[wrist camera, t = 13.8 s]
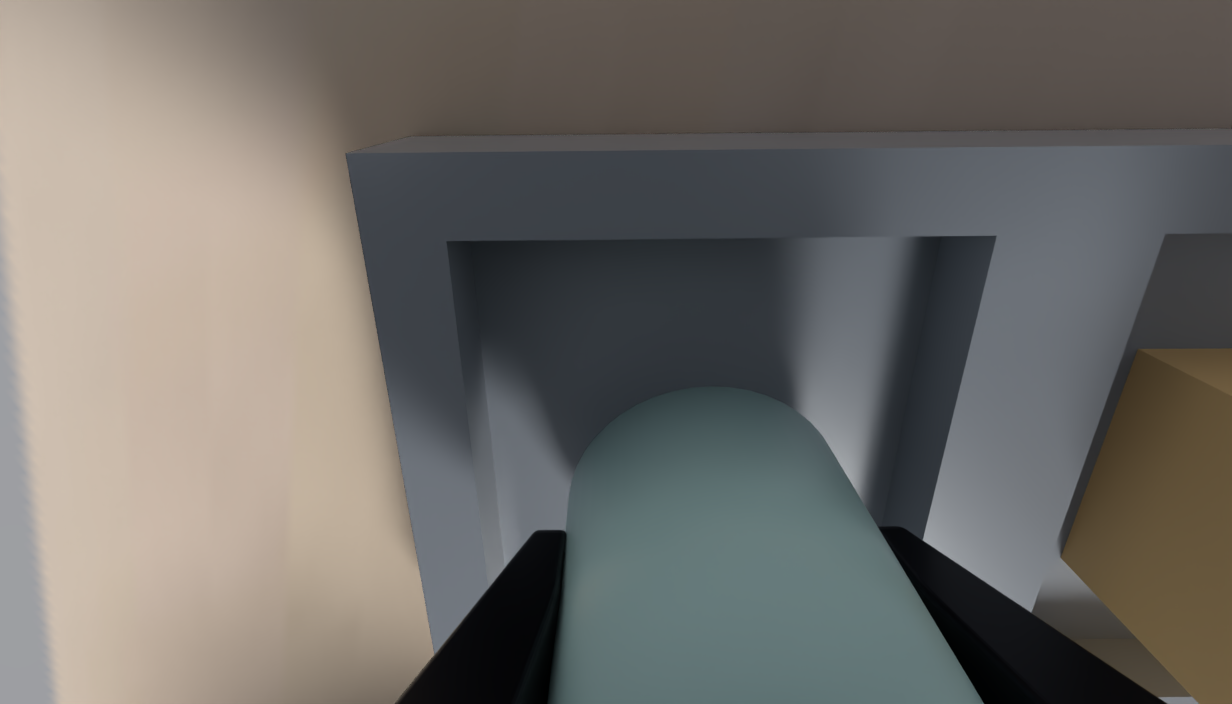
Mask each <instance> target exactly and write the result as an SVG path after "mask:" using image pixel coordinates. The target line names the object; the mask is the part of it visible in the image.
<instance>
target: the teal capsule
mask: <svg viewBox="0 0 1232 704" xmlns="http://www.w3.org/2000/svg"><path fill="white" fill-rule="evenodd" d="M565 532H566V542H565V552H564V562H563V572H562V582H561V592H560V602H559V611H558V619H557V627H556V634H555V642H554V649H553V656H552V663H551V672H550V682H549V692H548V701H547V704H984V703H983V701H982V700H981V698H980V696H979V695H978V693H977V691H976V690H975V688H974V686H973V685H972V683H971V681H970V680H969V678H968V676H967V675H966V673H965V671H964V670H963V668H962V666H961V665H960V663H959V661H958V660H957V658H956V656H955V655H954V653H953V651H952V650H951V648H950V646H949V645H948V643H947V641H946V640H945V638H944V636H943V635H942V633H941V631H940V630H939V628H938V626H937V625H936V623H935V621H934V620H933V618H932V616H931V615H930V613H929V611H928V610H927V608H926V606H925V605H924V603H923V601H922V600H921V598H920V596H919V595H918V593H917V591H916V590H915V588H914V586H913V585H912V583H911V581H910V580H909V578H908V577H907V575H906V573H905V572H904V570H903V568H902V567H901V565H900V563H899V562H898V560H897V558H896V557H895V555H894V553H893V552H892V550H891V548H890V547H889V545H888V543H887V542H886V540H885V538H884V537H883V535H882V533H881V532H880V530H879V528H878V527H877V525H876V523H875V522H874V520H873V518H872V517H871V515H870V513H869V512H868V510H867V508H866V507H865V505H864V503H863V502H862V500H861V498H860V497H859V495H858V493H857V492H856V490H855V488H854V487H853V485H852V483H851V482H850V480H849V478H848V477H847V475H846V473H845V472H844V470H843V468H842V467H841V465H840V463H839V462H838V460H837V458H836V457H835V455H834V453H833V452H832V450H831V448H830V447H829V445H828V444H827V442H826V441H825V439H824V437H823V436H822V434H821V433H820V432H819V431H818V430H817V429H816V428H815V427H814V425H813V424H812V423H811V422H810V421H808V420H807V419H806V418H805V417H804V416H802V415H801V414H800V413H799V412H797V411H796V410H794V409H793V408H791V407H789V406H788V405H786V404H784V403H783V402H780V401H778V400H776V399H774V398H771V397H769V396H767V395H763V394H760V393H757V392H753V391H750V390H744V389H738V388H732V387H716V386H708V387H694V388H687V389H682V390H677V391H672V392H669V393H665V394H662V395H659V396H656V397H653V398H651V399H649V400H646V401H644V402H642V403H640V404H637V405H635V406H634V407H632V408H631V409H629V410H627V411H626V412H624V413H622V414H621V415H619V416H618V417H617V418H615V419H614V420H613V421H612V422H610V423H609V424H608V425H607V426H606V427H605V428H604V429H603V430H602V431H601V432H600V433H599V434H598V435H597V436H596V437H595V438H594V439H593V441H592V442H591V443H590V445H589V446H588V447H587V449H586V450H585V451H584V453H583V455H582V457H581V459H580V461H579V463H578V464H577V467H576V469H575V472H574V475H573V478H572V481H571V486H570V492H569V499H568V508H567V518H566V528H565Z"/></svg>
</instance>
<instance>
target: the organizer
mask: <svg viewBox="0 0 1232 704" xmlns="http://www.w3.org/2000/svg"><path fill="white" fill-rule="evenodd" d="M346 159H347V164H348V170H349V176H350V181H351V187H352V193H353V198H354V204H355V210H356V215H357V221H358V226H359V232H360V238H361V243H362V249H363V255H364V260H365V266H366V271H367V277H368V283H369V288H370V294H371V300H372V305H373V311H374V317H375V322H376V328H377V333H378V339H379V345H380V350H381V356H382V362H383V367H384V373H385V379H386V384H387V390H388V395H389V401H390V407H391V412H392V418H393V424H394V429H395V435H396V440H397V446H398V452H399V457H400V463H401V469H402V474H403V480H404V486H405V491H406V497H407V502H408V508H409V514H410V519H411V525H412V531H413V536H414V542H415V548H416V553H417V559H418V564H419V570H420V576H421V581H422V587H423V593H424V598H425V604H426V609H427V615H428V621H429V626H430V632H431V638H432V643H433V649H434V655H435V653H436V652H437V651H438V650H439V648H440V647H441V646H442V645H443V643H444V642H445V641H446V640H447V639H448V637H449V636H450V635H451V634H452V632H453V631H454V630H455V629H456V627H457V626H458V625H459V624H460V622H461V621H462V620H463V619H464V617H465V616H466V615H467V614H468V613H469V611H470V610H471V609H472V608H473V606H474V605H475V604H476V603H477V601H478V600H479V599H480V598H481V596H482V595H483V594H484V593H485V592H486V590H487V589H488V588H489V587H490V585H491V584H492V583H493V582H494V580H495V579H496V578H497V577H498V575H499V574H500V573H501V572H502V571H503V569H504V568H505V567H506V566H507V564H508V563H509V562H510V561H511V559H512V558H513V557H514V556H515V554H516V553H517V552H518V551H519V549H520V548H521V547H522V546H523V545H524V543H525V542H526V541H527V540H528V538H529V537H530V536H531V535H532V533H533V532H535V531H537V530H564V531H565V528H566V518H567V508H568V499H569V492H570V486H571V481H572V478H573V475H574V472H575V469H576V467H577V464H578V463H579V461H580V459H581V457H582V455H583V453H584V451H585V450H586V449H587V447H588V446H589V445H590V443H591V442H592V441H593V439H594V438H595V437H596V436H597V435H598V434H599V433H600V432H601V431H602V430H603V429H604V428H605V427H606V426H607V425H608V424H609V423H610V422H612V421H613V420H614V419H615V418H617V417H618V416H619V415H621V414H622V413H624V412H626V411H627V410H629V409H631V408H632V407H634V406H635V405H637V404H640V403H642V402H644V401H646V400H649V399H651V398H653V397H656V396H659V395H662V394H665V393H669V392H672V391H677V390H682V389H687V388H694V387H708V386H716V387H732V388H738V389H744V390H750V391H753V392H757V393H760V394H763V395H767V396H769V397H771V398H774V399H776V400H778V401H780V402H783V403H784V404H786V405H788V406H789V407H791V408H793V409H794V410H796V411H797V412H799V413H800V414H801V415H802V416H804V417H805V418H806V419H807V420H808V421H810V422H811V423H812V424H813V425H814V427H815V428H816V429H817V430H818V431H819V432H820V433H821V434H822V436H823V437H824V439H825V441H826V442H827V444H828V445H829V447H830V448H831V450H832V452H833V453H834V455H835V457H836V458H837V460H838V462H839V463H840V465H841V467H842V468H843V470H844V472H845V473H846V475H847V477H848V478H849V480H850V482H851V483H852V485H853V487H854V488H855V490H856V492H857V493H858V495H859V497H860V498H861V500H862V502H863V503H864V505H865V507H866V508H867V510H868V512H869V513H870V515H871V517H872V518H873V520H874V522H875V523H876V525H877V526H900V527H903V528H905V529H907V530H908V531H910V532H911V533H913V534H914V535H916V536H917V537H919V538H920V539H922V540H923V541H925V542H926V543H928V544H929V545H931V546H932V547H934V548H935V549H937V550H938V551H940V552H941V553H943V554H944V555H946V556H947V557H949V558H950V559H952V560H953V561H955V562H956V563H958V564H959V565H961V566H962V567H964V568H965V569H967V570H968V571H970V572H971V573H973V574H974V575H976V576H977V577H979V578H980V579H982V580H983V581H985V582H986V583H988V584H989V585H991V586H992V587H994V588H995V589H997V590H998V591H1000V592H1001V593H1003V594H1004V595H1006V596H1007V597H1009V598H1010V599H1012V600H1013V601H1015V602H1016V603H1018V604H1019V605H1021V606H1022V607H1024V608H1025V609H1027V610H1028V611H1030V612H1031V613H1032V614H1034V615H1035V616H1037V617H1038V618H1040V619H1041V620H1043V621H1044V622H1046V623H1047V624H1049V625H1050V626H1052V627H1053V628H1055V629H1056V630H1058V631H1059V632H1061V633H1062V634H1064V635H1065V636H1067V637H1068V638H1070V639H1071V640H1073V641H1074V642H1076V643H1077V644H1079V645H1080V646H1082V647H1083V648H1085V649H1086V650H1088V651H1089V652H1091V653H1092V654H1094V655H1095V656H1097V657H1098V658H1100V659H1101V660H1103V661H1104V662H1106V663H1107V664H1109V665H1110V666H1112V667H1113V668H1115V669H1116V670H1118V671H1119V672H1121V673H1122V674H1124V675H1125V676H1127V677H1128V678H1130V679H1131V680H1133V681H1134V682H1136V683H1137V684H1139V685H1140V686H1142V687H1143V688H1145V689H1146V690H1148V691H1149V692H1151V693H1152V694H1154V695H1155V696H1157V697H1158V698H1160V699H1161V700H1163V701H1164V702H1166V703H1167V704H1199V703H1198V702H1197V701H1196V700H1195V699H1194V698H1193V697H1192V696H1191V695H1190V694H1189V693H1188V692H1187V691H1186V690H1185V689H1184V688H1183V686H1182V685H1181V684H1180V683H1179V682H1178V681H1177V680H1176V679H1175V678H1174V677H1173V676H1172V675H1171V674H1170V673H1169V672H1168V671H1167V670H1166V669H1165V667H1164V666H1163V665H1162V664H1161V663H1160V662H1159V661H1158V660H1157V659H1156V658H1155V657H1154V656H1153V655H1152V654H1151V653H1150V652H1149V651H1148V650H1147V648H1146V647H1145V646H1144V645H1143V644H1142V643H1141V642H1140V641H1139V640H1138V639H1137V638H1136V637H1135V636H1134V635H1133V634H1132V633H1131V632H1130V631H1129V629H1128V628H1127V627H1126V626H1125V625H1124V624H1123V623H1122V622H1121V621H1120V620H1119V619H1118V618H1117V617H1116V616H1115V615H1114V614H1113V613H1112V612H1111V611H1110V609H1109V608H1108V607H1107V606H1106V605H1105V604H1104V603H1103V602H1102V601H1101V600H1100V599H1099V598H1098V597H1097V596H1096V595H1095V594H1094V593H1093V592H1092V590H1091V589H1090V588H1089V587H1088V586H1087V585H1086V584H1085V583H1084V582H1083V581H1082V580H1081V579H1080V578H1079V577H1078V576H1077V575H1076V574H1075V573H1074V571H1073V570H1072V569H1071V568H1070V567H1069V566H1068V565H1067V564H1066V563H1065V562H1064V561H1063V560H1062V559H1061V555H1062V553H1063V550H1064V547H1065V544H1066V542H1067V539H1068V536H1069V534H1070V531H1071V528H1072V526H1073V523H1074V520H1075V517H1076V515H1077V512H1078V509H1079V507H1080V504H1081V501H1082V499H1083V496H1084V493H1085V490H1086V488H1087V485H1088V482H1089V480H1090V477H1091V474H1092V472H1093V469H1094V466H1095V464H1096V461H1097V458H1098V455H1099V453H1100V450H1101V447H1102V445H1103V442H1104V439H1105V437H1106V434H1107V431H1108V428H1109V426H1110V423H1111V420H1112V418H1113V415H1114V412H1115V410H1116V407H1117V404H1118V401H1119V399H1120V396H1121V393H1122V391H1123V388H1124V385H1125V383H1126V380H1127V377H1128V374H1129V372H1130V369H1131V366H1132V364H1133V361H1134V358H1135V356H1136V353H1137V350H1138V349H1222V348H1232V128H1221V129H1116V130H1010V131H905V132H799V133H694V134H588V135H483V136H409V137H405V138H401V139H398V140H394V141H390V142H386V143H382V144H379V145H375V146H371V147H367V148H363V149H360V150H356V151H352V152H348V153H346Z"/></svg>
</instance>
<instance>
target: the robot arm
mask: <svg viewBox="0 0 1232 704" xmlns="http://www.w3.org/2000/svg"><path fill="white" fill-rule="evenodd" d="M877 527H878V528H879V530H880V532H881V533H882V535H883V537H884V538H885V540H886V542H887V543H888V545H889V547H890V548H891V550H892V552H893V553H894V555H895V557H896V558H897V560H898V562H899V563H900V565H901V567H902V568H903V570H904V572H905V573H906V575H907V577H908V578H909V580H910V581H911V583H912V585H913V586H914V588H915V590H916V591H917V593H918V595H919V596H920V598H921V600H922V601H923V603H924V605H925V606H926V608H927V610H928V611H929V613H930V615H931V616H932V618H933V620H934V621H935V623H936V625H937V626H938V628H939V630H940V631H941V633H942V635H943V636H944V638H945V640H946V641H947V643H948V645H949V646H950V648H951V650H952V651H953V653H954V655H955V656H956V658H957V660H958V661H959V663H960V665H961V666H962V668H963V670H964V671H965V673H966V675H967V676H968V678H969V680H970V681H971V683H972V685H973V686H974V688H975V690H976V691H977V693H978V695H979V696H980V698H981V700H982V701H983V703H984V704H1167V703H1166V702H1164V701H1163V700H1161V699H1160V698H1158V697H1157V696H1155V695H1154V694H1152V693H1151V692H1149V691H1148V690H1146V689H1145V688H1143V687H1142V686H1140V685H1139V684H1137V683H1136V682H1134V681H1133V680H1131V679H1130V678H1128V677H1127V676H1125V675H1124V674H1122V673H1121V672H1119V671H1118V670H1116V669H1115V668H1113V667H1112V666H1110V665H1109V664H1107V663H1106V662H1104V661H1103V660H1101V659H1100V658H1098V657H1097V656H1095V655H1094V654H1092V653H1091V652H1089V651H1088V650H1086V649H1085V648H1083V647H1082V646H1080V645H1079V644H1077V643H1076V642H1074V641H1073V640H1071V639H1070V638H1068V637H1067V636H1065V635H1064V634H1062V633H1061V632H1059V631H1058V630H1056V629H1055V628H1053V627H1052V626H1050V625H1049V624H1047V623H1046V622H1044V621H1043V620H1041V619H1040V618H1038V617H1037V616H1035V615H1034V614H1032V613H1031V612H1030V611H1028V610H1027V609H1025V608H1024V607H1022V606H1021V605H1019V604H1018V603H1016V602H1015V601H1013V600H1012V599H1010V598H1009V597H1007V596H1006V595H1004V594H1003V593H1001V592H1000V591H998V590H997V589H995V588H994V587H992V586H991V585H989V584H988V583H986V582H985V581H983V580H982V579H980V578H979V577H977V576H976V575H974V574H973V573H971V572H970V571H968V570H967V569H965V568H964V567H962V566H961V565H959V564H958V563H956V562H955V561H953V560H952V559H950V558H949V557H947V556H946V555H944V554H943V553H941V552H940V551H938V550H937V549H935V548H934V547H932V546H931V545H929V544H928V543H926V542H925V541H923V540H922V539H920V538H919V537H917V536H916V535H914V534H913V533H911V532H910V531H908V530H907V529H905V528H903V527H900V526H877ZM565 542H566V532H565V531H564V530H537V531H535V532H533V533H532V535H531V536H530V537H529V538H528V540H527V541H526V542H525V543H524V545H523V546H522V547H521V548H520V549H519V551H518V552H517V553H516V554H515V556H514V557H513V558H512V559H511V561H510V562H509V563H508V564H507V566H506V567H505V568H504V569H503V571H502V572H501V573H500V574H499V575H498V577H497V578H496V579H495V580H494V582H493V583H492V584H491V585H490V587H489V588H488V589H487V590H486V592H485V593H484V594H483V595H482V596H481V598H480V599H479V600H478V601H477V603H476V604H475V605H474V606H473V608H472V609H471V610H470V611H469V613H468V614H467V615H466V616H465V617H464V619H463V620H462V621H461V622H460V624H459V625H458V626H457V627H456V629H455V630H454V631H453V632H452V634H451V635H450V636H449V637H448V639H447V640H446V641H445V642H444V643H443V645H442V646H441V647H440V648H439V650H438V651H437V652H436V653H435V655H434V656H433V657H432V658H431V660H430V661H429V662H428V663H427V664H426V666H425V667H424V668H423V669H422V671H421V672H420V673H419V674H418V676H417V677H416V678H415V679H414V681H413V682H412V683H411V684H410V686H409V687H408V688H407V689H406V690H405V692H404V693H403V694H402V695H401V697H400V698H399V699H398V700H397V702H396V703H395V704H547V701H548V692H549V682H550V672H551V663H552V656H553V649H554V642H555V634H556V627H557V619H558V611H559V602H560V592H561V582H562V572H563V562H564V552H565Z"/></svg>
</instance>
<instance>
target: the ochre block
mask: <svg viewBox="0 0 1232 704" xmlns="http://www.w3.org/2000/svg"><path fill="white" fill-rule="evenodd" d="M1061 559H1062V560H1063V561H1064V562H1065V563H1066V564H1067V565H1068V566H1069V567H1070V568H1071V569H1072V570H1073V571H1074V573H1075V574H1076V575H1077V576H1078V577H1079V578H1080V579H1081V580H1082V581H1083V582H1084V583H1085V584H1086V585H1087V586H1088V587H1089V588H1090V589H1091V590H1092V592H1093V593H1094V594H1095V595H1096V596H1097V597H1098V598H1099V599H1100V600H1101V601H1102V602H1103V603H1104V604H1105V605H1106V606H1107V607H1108V608H1109V609H1110V611H1111V612H1112V613H1113V614H1114V615H1115V616H1116V617H1117V618H1118V619H1119V620H1120V621H1121V622H1122V623H1123V624H1124V625H1125V626H1126V627H1127V628H1128V629H1129V631H1130V632H1131V633H1132V634H1133V635H1134V636H1135V637H1136V638H1137V639H1138V640H1139V641H1140V642H1141V643H1142V644H1143V645H1144V646H1145V647H1146V648H1147V650H1148V651H1149V652H1150V653H1151V654H1152V655H1153V656H1154V657H1155V658H1156V659H1157V660H1158V661H1159V662H1160V663H1161V664H1162V665H1163V666H1164V667H1165V669H1166V670H1167V671H1168V672H1169V673H1170V674H1171V675H1172V676H1173V677H1174V678H1175V679H1176V680H1177V681H1178V682H1179V683H1180V684H1181V685H1182V686H1183V688H1184V689H1185V690H1186V691H1187V692H1188V693H1189V694H1190V695H1191V696H1192V697H1193V698H1194V699H1195V700H1196V701H1197V702H1198V703H1199V704H1232V348H1222V349H1138V350H1137V353H1136V356H1135V358H1134V361H1133V364H1132V366H1131V369H1130V372H1129V374H1128V377H1127V380H1126V383H1125V385H1124V388H1123V391H1122V393H1121V396H1120V399H1119V401H1118V404H1117V407H1116V410H1115V412H1114V415H1113V418H1112V420H1111V423H1110V426H1109V428H1108V431H1107V434H1106V437H1105V439H1104V442H1103V445H1102V447H1101V450H1100V453H1099V455H1098V458H1097V461H1096V464H1095V466H1094V469H1093V472H1092V474H1091V477H1090V480H1089V482H1088V485H1087V488H1086V490H1085V493H1084V496H1083V499H1082V501H1081V504H1080V507H1079V509H1078V512H1077V515H1076V517H1075V520H1074V523H1073V526H1072V528H1071V531H1070V534H1069V536H1068V539H1067V542H1066V544H1065V547H1064V550H1063V553H1062V555H1061Z"/></svg>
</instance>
